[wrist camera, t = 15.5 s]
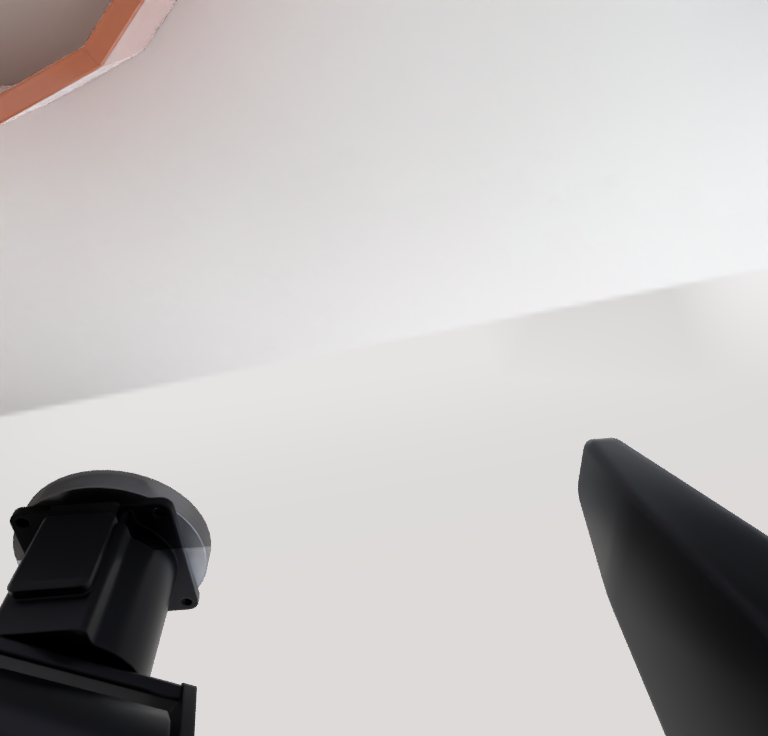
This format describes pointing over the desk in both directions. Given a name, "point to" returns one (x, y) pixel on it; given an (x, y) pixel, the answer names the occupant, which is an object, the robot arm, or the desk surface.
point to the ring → (88, 56)
